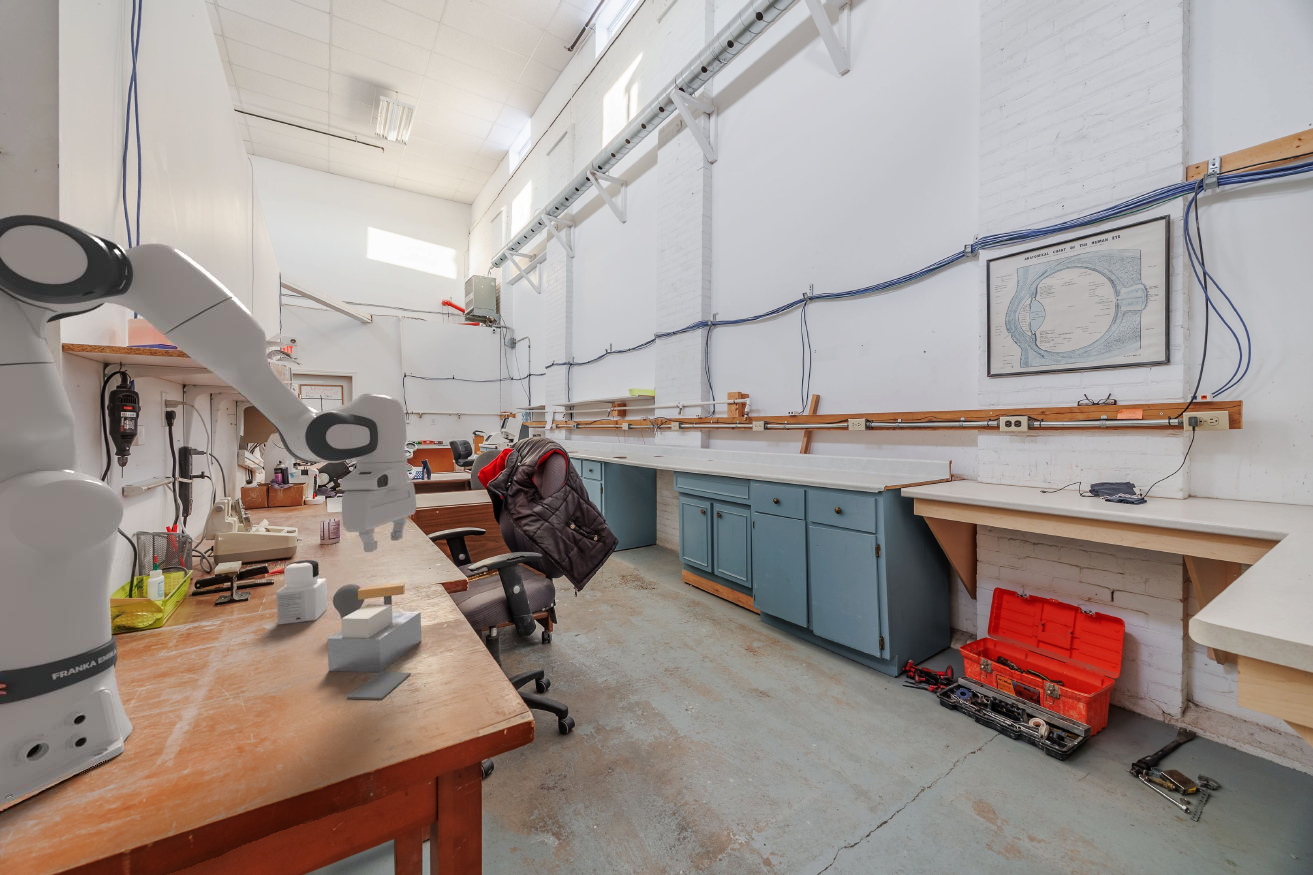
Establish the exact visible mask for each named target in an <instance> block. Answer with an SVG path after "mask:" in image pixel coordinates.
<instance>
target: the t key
mask: <svg viewBox="0 0 1313 875" xmlns="http://www.w3.org/2000/svg"><path fill="white" fill-rule="evenodd" d="M405 592H406V588H405V582H401V583H394V584H393V583H392V584H385V585H376V586H368V587H367V586H366V587H361V588H360V589H359V590H358V600H360V599H365V600H368V599H376V598H383V605H392V606H393V598H392V596H398V595H399V596H401V595H405Z"/></svg>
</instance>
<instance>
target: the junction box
mask: <svg viewBox="0 0 1313 875" xmlns="http://www.w3.org/2000/svg"><path fill="white" fill-rule="evenodd" d="M421 614H422V612H421V611H396V610H395V611H393V610H392V623H391V624H389V625H388V626H386V627H384V628H383V629H381V630H380V631H378V632H377V633H375V634H374V635H372V636H370V637H369V638H349V637H342V629H341V630H339V631H338V632H336V633H334V634H333V635H331V636H329V637H327V657H328V658H327V660H328V661H327V662H328V663H327V664H328V665H327V666H328V671H329V672H360V673H378V672H384V671H385V669H387V668H388V667H389V666H390V665H392V664H393V663H395V662H396V661H397V660H398V659H400V658H401V657H402V656H403V655H405V654H406V653H407V652H408V651H410V650H411V649H412V648H414V647H415V646H417V645H418V644H419V643H420V642H421V641H422V621H421V620H422V617H421Z"/></svg>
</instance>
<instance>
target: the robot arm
mask: <svg viewBox="0 0 1313 875" xmlns="http://www.w3.org/2000/svg"><path fill="white" fill-rule="evenodd" d="M105 303H107V304H114V305H118V306H121V307H124V308H126V309H129V310H130V311H133V312H134V313H136V315H139V316H140V317H142V318H143V319H144V320H145V321H147V322H148V323H149V324H150V325H151V326H153V327H154V328H155V329H156V330H157V331H158V332H159V334H162V336H164V337H165V339H166V340H168V341H170V343H172V345H174V346H175V347H177V348H178V349H179V350H180V351H182V352H183V353H184V354H186V355H188V357H190V358H191V359H193V361H195V362H197V363H198V364H200V365H201V366H203V367H204V368H206V369H207V370H208V371H210V372H211V373H213V374H214V375H216V376H217V377H218V378H220V379H221V380H222V381H224V382H226V383H227V384H229V385H230V386H231V387H232V388H233V389H234V390H236V391H237V392H238V393H239V394H240V395H241V396H242V397H243V398H244V399H245V400H246V401H248V403H249V404H251V405H252V407H254V408H255V409H256V410H257V411H258V412H259V413H261V414H262V416H263V417H265V419H267V421H269V423H271V424H272V426H273V427H274V428H275V430H276V432H277V434H278V436H279V438H280V441H281V443H282V445H283V448H284V449H285V451H286V452H287V453H288V454H289V455H290V456H291V457H292V458H294V459H295V460H297V461H299V462H302V463H307V464H320V463H327V464H328V463H332V464H333V463H334V464H335V463H341V462H345V461H348V460H351V459H355V460H356V461H355V463H356V468H353V470H352V471H350V473H348V474H347V475H346V476H344V477H342V478H341V480H340V481H339V486H340V490H342V491H344V493H343V494H342V498H341V517H342V518H341V520H342V525H343V528H344V530H345V531H346V532H349V533H358V536H359V537H360V539H361V542H362V543H363V552H365V553H373V552H374V551H376V550H378V540H375V537H374V534H375V528H378V527H381V526H383V525H386V524H389V523H393V527H392V531H390V541H394V542H395V541H396V542H398V541H400V540H402V539H403V537H404V528H405V526H406V522H407V521H406V520H407V519H406V518H407V517H409V516H412V515H415V513H416V511H417V510H416V509H417V499H416V489H415V486H414V485H415V484H414V482H413V481H412V480H411V477H410V476H409V475H408V458H407V454H406V450H405V447H406V443H407V440H408V439H407V425H406V424H407V423H406V414H405V410H404V407H403V405H402V403H401V402H400V401H399V399H396V398H394V397H391V396H388V395H383V394H375V393H363V394H360V395H358V397H356V398H354V399H353V400H351V401H349V402H347V403H344V404H342V405H339V406H337V407H334V408H330V409H327V410H323V411H320V410H319V411H318V410H315V409H314V408H311V407H310V406H308V405H307V404H305V403H304V402H303V401H302V400H301V399H300V397H299V396H297V395H296V394H295V392H294V391H292V389H291V388H290V387H289V386H287V385H286V383H284V381H282V379H280V377H279V376H278V375H277V374H276V373H275V371H274V370H273V368H272V366H271V365H270V363H269V359H268V356H267V355H268V354H267V335H266V333H265V330H264V329H263V328H262V326H261V325H260V323H259V322H258V321H257V319H256V317H254V315H253V314H252V313H251V311H250V310H249V309H248V308H247V307H246V306H245V304H243V303H242V301H240V300H239V299H238V297H236V296H235V295H234V294H233V293H232V292H231V291H230V290H229V289H228V288H227V287H226V286H224V285H223V284H222V283H221V282H220V281H219V280H218V279H217V278H216V277H214V276H213V275H211V273H209V272H208V271H207V270H206V269H205V268H203V266H201V265H199V264H198V263H197V262H196V261H195V260H193V259H192V258H190V257H189V256H187V255H186V254H185V253H183V252H182V251H180V250H179V249H177V248H175V247H174V246H173V247H172V246H171V245H167V244H164V243H163V244H162V243H145V244H139V245H135V246H133V247H130V248H126V249H125V250H124V248H123V247H122V246H121V245H119V244H118V243H116V242H114V241H111V240H109V239H106V238H105V237H101V236H98V235H96V234H94V233H92V232H90V231H87V230H84V229H82V228H79V227H77V226H75V225H72V224H70V223H67V222H64V221H61V220H59V219H55V218H50V217H49V216H48V217H47V216H44V215H43V216H42V215H37V214H35V215H34V214H18V215H11V216H10V215H9V216H4V217H2V218H0V807H1V806H2V805H5V804H6V803H9V802H11V801H14V800H15V799H18V798H21V797H23V796H25V795H26V794H30V793H32V792H35V791H37V790H40V789H41V788H43V787H46V786H48V785H50V784H52V783H54V782H56V781H59V780H60V779H63V778H65V777H67V776H69V775H72V774H73V773H75V772H80V771H82V770H85V769H86V768H89V767H91V766H94V765H95V764H98V763H100V762H102V763H104V762H106V761H108V760H111V759H112V758H114V757H116V756H118V755H120V754H122V753H123V751H125V743H124V742H125V740H126V739H127V738H128V737H129V735H130V734H131V732H132V731H133V728H134V727H133V724H132V722H131V721H130V719H129V716H128V715H127V714H126V709H125V708H124V705H123V702H122V700H121V695H120V692H119V688H118V683H117V679H116V678H117V677H116V671H115V668H116V666H117V662H118V648H117V647H118V646H117V638H116V636H115V635H112V615H111V592H110V591H111V588H110V587H111V576H112V570H113V565H114V559H115V554H116V548H117V541H118V532H119V527H120V525H121V523H122V521H123V516H124V506H123V503H122V500H121V499H120V497H119V495H118V494H117V492H116V491H115V490H114V489H113V488H112V487H111V486H110V485H108V483H106V482H105V481H103V480H101V479H99V478H97V477H94V476H92V475H91V474H90V475H89V474H86V473H83V470H82V466H81V465H82V464H81V462H80V455H79V450H78V444H77V436H76V435H77V434H76V416H75V413H74V411H73V409H72V405H71V403H70V400H69V398H68V394H67V393H66V389H65V387H64V384H63V381H62V379H61V378H62V377H61V376H60V373H59V370H58V367H57V364H56V361H55V359H54V356H53V353H52V351H51V349H50V346H49V342H48V340H47V335H46V325H47V324H48V323H51V322H55V321H60V320H62V319H63V320H64V319H67V318H70V317H76V316H80V315H84V314H86V313H90V312H92V311H94V310H96V309H99V308H100V307H102V306H103V305H105ZM105 760H106V761H105ZM103 761H104V762H103ZM100 764H101V763H100ZM98 765H99V764H98ZM94 767H95V766H94ZM9 796H11V797H9ZM7 797H9V798H7Z"/></svg>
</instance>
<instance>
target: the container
mask: <svg viewBox="0 0 1313 875" xmlns="http://www.w3.org/2000/svg"><path fill="white" fill-rule="evenodd" d="M319 569H320V568H319V562H318V561H317V560H312V559H307V560H306V559H304V560H298V561H294V562H290V563H289V564H286V565H285V567H284V569H283V570H284V572H283V574H284V586H283V587H281V588H279V589H278V590H277V591H276V593H275V595H276V597H275V598H276V620H277V621H276V623H277V625H287V624H294V623H303V622H311V621H316V620H317V619H319V617H320V616H322V614H324V613H325V612H326V611H327V610H328V588H327V586H328V585H327V584H328V583H327V578H324V577H322V578H320V575H319V574H320V573H319V572H320V570H319Z"/></svg>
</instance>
